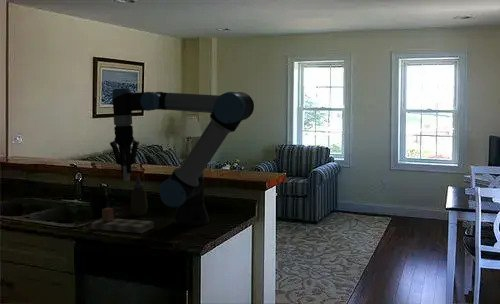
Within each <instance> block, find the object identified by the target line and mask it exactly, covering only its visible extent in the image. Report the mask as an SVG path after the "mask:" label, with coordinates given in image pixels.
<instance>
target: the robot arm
mask: <svg viewBox="0 0 500 304" xmlns="http://www.w3.org/2000/svg"><path fill="white" fill-rule="evenodd" d="M111 96H112V98H111V101H112V109H113V125H114V136H115V137H114V140H113V141H110V142H109V145H110V147H111V148H112V152H113V156H114V159H115V163H116V165H119V166H120V168H121V174H123V176H122V177H123V182H129V181H131V177H130V176H131V174H132V166H133V165H134V164H135V163H136V159H137V153H138V152H137V151H138V147H139V145H140V141H138V140H135V137H134V129H133V128H134V126H133V125H132V124H133V115H132V114H133V112H134V111H136V112H139V111H142V112H143V111H144V112H145V111H147V112H149V111H150V112H151V111H155V110H157V111H158V110H161V111H180V112H191V113H192V112H193V113H203V114H204V113H207V114H210V115H209V118H210V121H209V123H208V124H207V126H206V127H205V129H204V131H203V132H202V134H201V135H200V136H199V138H198V140H197V141H196V143H195V144H194V146H193V147H192V149H191V150H190V152H189V154H187V157H186V158H185V159H184V161H183V163H182V165H180V167H176V168H174V170H173V171H172V173H171V174H170V176H169V178H168V179H166V180H164V181H163V182H161V184H160V186H159V189H158V192H159V193H158V194H159V196H160V197H159V198H160V200H161V201H162V203H164V204H165V205H166V206H167V207H170V208H176V209H175V210H176V211H175V214H174V217H173V223H174V225H176V226H180V227H198V226H203V225H206V224H208V223H210V222H209V221H210V220H209V217H210V216H209V215H208V214H209V213H208V212H207V209H206V206H205V177H204V170H206V167H207V166H208V165H209V163H210V162H211V161H212V159H213V158H214V156H215V154H216V153H217V152H218V149H219V148H220V146H221V145H222V144H223V142H224V141H225V139H226V138H227V137H228V135H229V134H230V133H234V132H235V131H236V129H237V128H238V127H239V125H240V124H241V122H243V121H244V120H245V121H246V120H248V119H249V118H250V117H251V115H253V113H254V109H255V103H254V100H253V98H252V97H251V96H250V95H249V94H247V93H246V92H244V91H243V92H241V91H237V92H236V91H227V92H224V93H222V94H219V95H217V94H201V93H200V94H198V93H197V94H196V93H181V92H163V91H145V92H144V91H143V92H142V91H141V92H132V91H131V89H130V88H129V87H128V88H126V87H125V88H124V87H123V88H114V89H113V90H112V95H111Z"/></svg>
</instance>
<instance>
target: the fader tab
mask: <svg viewBox="0 0 500 304" xmlns="http://www.w3.org/2000/svg"><path fill="white" fill-rule="evenodd" d="M101 219H102V221H106V222H110V221H111V220H113V219H114V207H112V208H110V207H108V208H105V209H102V218H101Z"/></svg>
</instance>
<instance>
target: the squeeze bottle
mask: <svg viewBox="0 0 500 304" xmlns="http://www.w3.org/2000/svg"><path fill="white" fill-rule="evenodd" d="M144 186H145V185H144V183H142V181H141V178H140V176H136V181H135V183H134V184H133V188H132V190H131V192H130V193H131V195H130V196H131V197H130V211H131V214H132V215H133V216H138V217H139V216H145V215H147V211H148V208H149V205H148V198H147V197H148V196H147V190H146V189H145V188H144Z"/></svg>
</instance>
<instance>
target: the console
mask: <svg viewBox="0 0 500 304" xmlns="http://www.w3.org/2000/svg"><path fill="white" fill-rule="evenodd" d="M154 223H155V222H154V221H151V220H141V219H139V220H137V219H127V218H124V219H123V218H116V217H115V218H114V219H113V220H111V221H110V222H106V221H102V218H100V219H99V220H96V221H94V222H91V230H99V231H100V230H101V231H113V232H125V233H137V234H144V233H145V232H148V231H149V230H151V229H153V228H155V225H154Z"/></svg>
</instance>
